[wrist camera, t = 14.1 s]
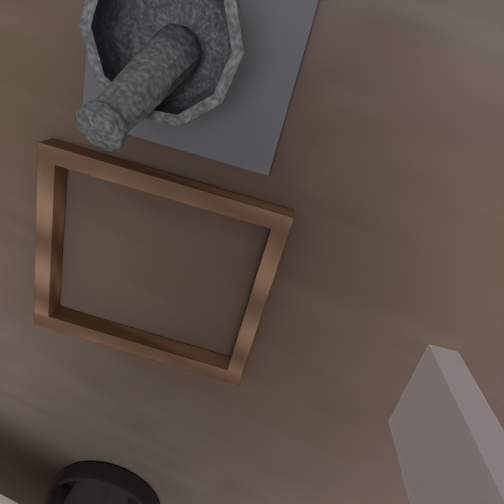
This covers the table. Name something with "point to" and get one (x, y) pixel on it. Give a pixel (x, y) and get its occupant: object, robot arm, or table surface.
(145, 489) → the robot arm
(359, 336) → the table surface
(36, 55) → the table surface
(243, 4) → the rubber mat
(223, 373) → the frame
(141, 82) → the mortar and pestle
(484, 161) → the table surface
